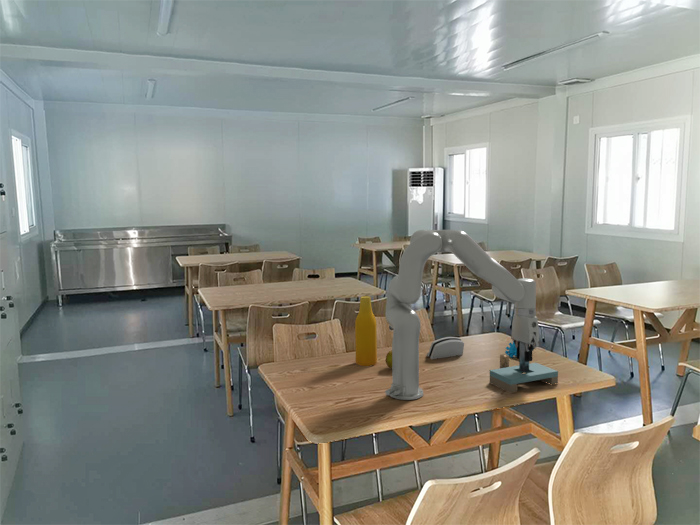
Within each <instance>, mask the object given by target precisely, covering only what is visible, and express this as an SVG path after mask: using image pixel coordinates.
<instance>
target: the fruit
mask: <svg viewBox="0 0 700 525" xmlns="http://www.w3.org/2000/svg"><path fill="white" fill-rule="evenodd" d="M385 364H386V366H387V368H389V369H391V370H392V349H391V350H389V351H388V352H387V354H386V357H385Z"/></svg>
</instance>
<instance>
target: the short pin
mask: <svg viewBox="0 0 700 525" xmlns="http://www.w3.org/2000/svg"><path fill="white" fill-rule="evenodd" d="M506 367H510V356H509V355H506V353H503V354H500V355H499V369H500V368H506Z"/></svg>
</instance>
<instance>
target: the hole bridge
mask: <svg viewBox="0 0 700 525" xmlns="http://www.w3.org/2000/svg"><path fill="white" fill-rule="evenodd" d="M540 380H542V381H541V382H543V381H544V382H543V383H545V382H547V383H550V384H555V383H559V382H558V381H559V370H556V369H554V368H551V367H548V366H546V365H543V364H542V363H541V364H540V363H538V362H532V363H530V362H529V371H528V372H522V371H520V370H519V365H513V366H509V367H506V368H500V367H499V368H495V369H490V370H489V384H491V385H493V386H495V387H498V388H500V389H501V390H503V391H506V392H508V393H509V394H510V393H511V394H513V393H517V392H518V384H523V383H528V382H533V381H540ZM547 383H546V384H547ZM550 384H549V385H550Z"/></svg>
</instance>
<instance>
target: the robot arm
mask: <svg viewBox="0 0 700 525" xmlns="http://www.w3.org/2000/svg"><path fill="white" fill-rule="evenodd" d="M437 253H452V254H453V255H454V256H455V257H456V258H457V259H458V260H459V261H460V262H461V263H462V264H463V265H464V266H465V267H466V268H467V269H468V270H469V271H470V272H471V273H473V274H474V275H475V276H477V277H478V278H480V279H482V280H484V281H486V282H487V283H489V284H491V293H492V294H493V295H494V296H495V297H497V298H498V299H501V300H505V301H507V302H510V303H514V304H513V305H514V308H513V310H514V314H513V315H512V316H513V318H512V325H511V336H510V339H511V340H512V342H513V341H514V343H515V347H516V348H517V353H516V359H518V360H519V350H520V341H521V342H523V343H525V346H526V351H525V360H524V361H525V362H529V363H530V362H532V361H533V351H534V350H535V349H536V348H538V347H539V346H540V344H539V340H540V330H539V329H540V327H539V326H540V325H539V319H538V317H537V316H536V315H537V311H536V309H537V308H536V304H537V303H536V302H537V300H536V298H537V283H536V280H534V279H532V278H526V277H525V278H523V277H522V278H516V277H515V276H514V275H513V274H512V273H511V272H510V271H509V270H508V269H507V268H505V267H504V266H503V265H501V264H500V263H499V262H498V261H496V259H494V258H493V257H492V256H490V255H489V254H488V253H487V252H486V251H485V250H484V249H483V248H482V247H481V246H480V245H479V244H478V243H477V242H476V241H475V239H473V238H472V237H471V236H470V235H469V234H467V232H465V231H463V230H459V229H419V230H416V231H414V232H413V233H412V234H411V236H410V239H409V244H408V245H407V247H406V248H405V249H404V251H403V253H402V255H401V258H400V261H399V268H398V274H397V275H395V276H394V277H392V279H391V280H390V281H389V285H388V286H387V295H386V303H385V304H386V305H385V320H386V322H387V324H388V325H389V327H390V328H392V329H393V334H392V339H391V340H392V342H391V350H392V369H391V372H392V377H391V378H392V379H391V380H392V383H391V384H390V388H388V389H385V391H384V393H385V396H390V398H393V399H395V400H401V401H403V400H404V401H410V400H411V401H412V400H417V399H420V398H422V397H424V396H423V395H424V390H423V389H422V388H421V387H420V381H419V380H420V354H419V353H420V352H419V351H420V350H419V349H420V347H419V346H420V334H421V325H422V324H421V319H420V316H419V314H418V313H417V312H416V311H415V310H413V309H412V308H411V307H412V305H413V304H417V302H418V301H419V300H420V298H421V294H422V285H423V276H424V274H423V273H424V268H425V265H426V263H427V261H428V260H429V259H430V258H431V257H432V256H433V255H435V254H437ZM529 345H530V346H529Z"/></svg>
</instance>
